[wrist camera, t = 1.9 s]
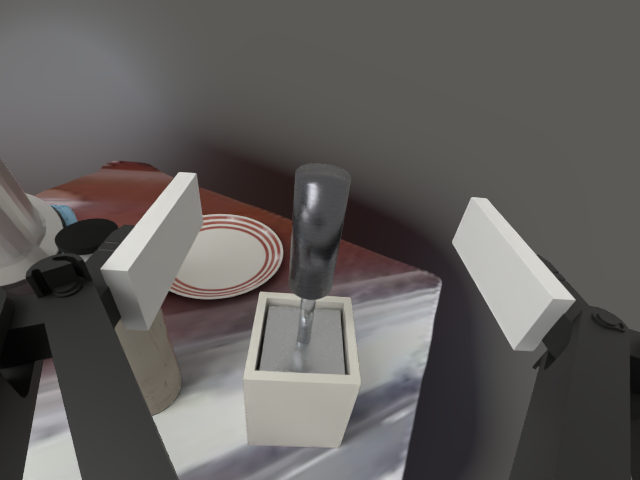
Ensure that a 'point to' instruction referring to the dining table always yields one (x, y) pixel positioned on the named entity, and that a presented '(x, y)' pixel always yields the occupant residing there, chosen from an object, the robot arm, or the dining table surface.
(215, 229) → the dinner plate
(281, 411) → the white open box
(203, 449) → the dining table surface
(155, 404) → the thermos bottle
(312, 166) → the plunger
